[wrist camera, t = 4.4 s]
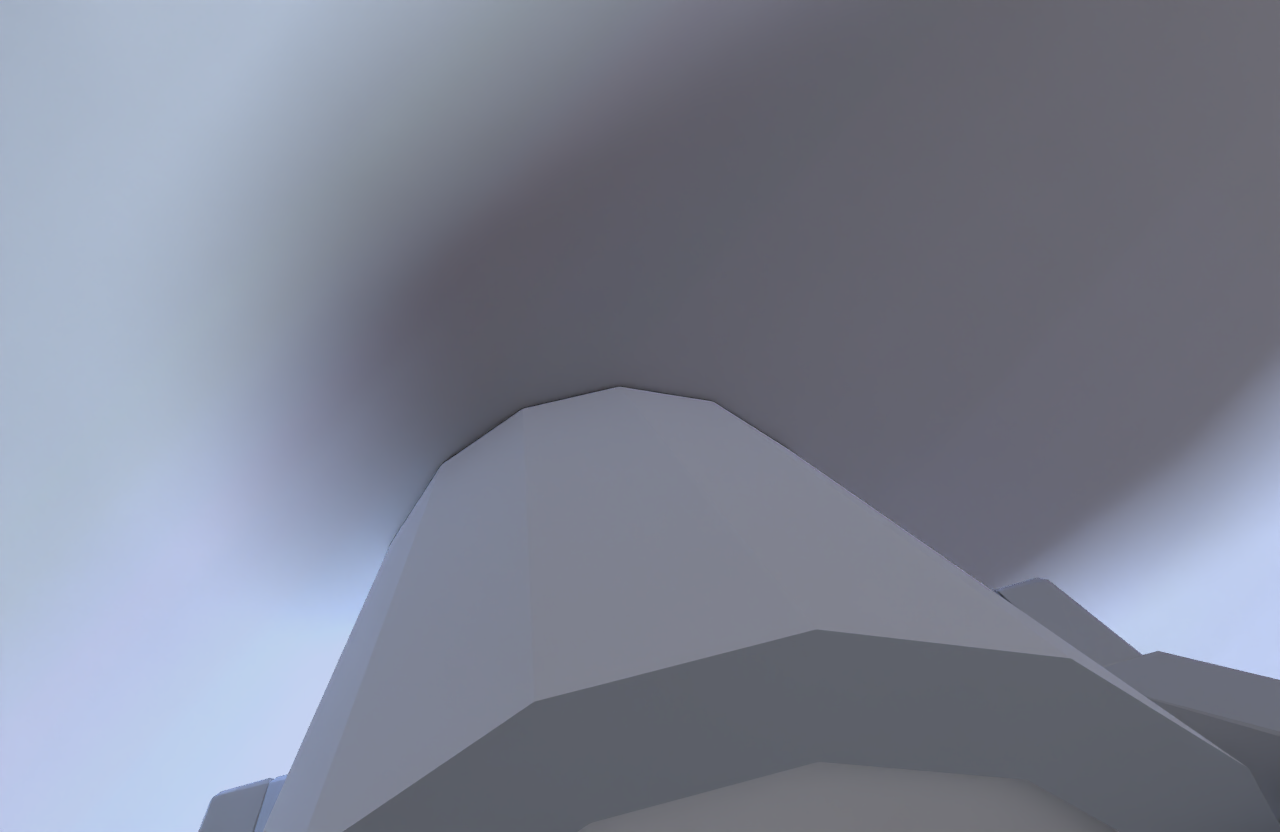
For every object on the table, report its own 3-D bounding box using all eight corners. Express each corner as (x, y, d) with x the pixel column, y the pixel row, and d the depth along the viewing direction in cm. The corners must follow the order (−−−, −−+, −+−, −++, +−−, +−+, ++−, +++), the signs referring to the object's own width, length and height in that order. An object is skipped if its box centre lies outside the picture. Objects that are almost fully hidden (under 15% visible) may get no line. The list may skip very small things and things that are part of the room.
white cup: (295, 340, 11) (8, 705, 4) (914, 323, 12) (1483, 593, 5) (345, 884, 13) (204, 1724, 6) (873, 829, 14) (1249, 1500, 7)
